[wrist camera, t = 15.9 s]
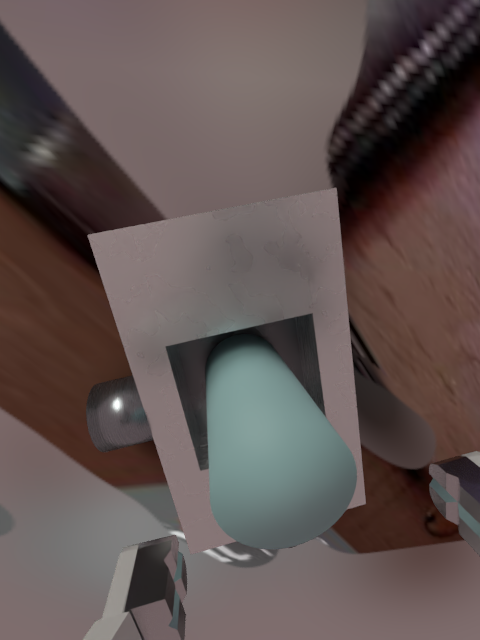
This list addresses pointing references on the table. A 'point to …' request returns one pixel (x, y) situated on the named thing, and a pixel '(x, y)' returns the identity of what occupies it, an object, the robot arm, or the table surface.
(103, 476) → the table surface
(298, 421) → the toggle switch lever
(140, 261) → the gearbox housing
